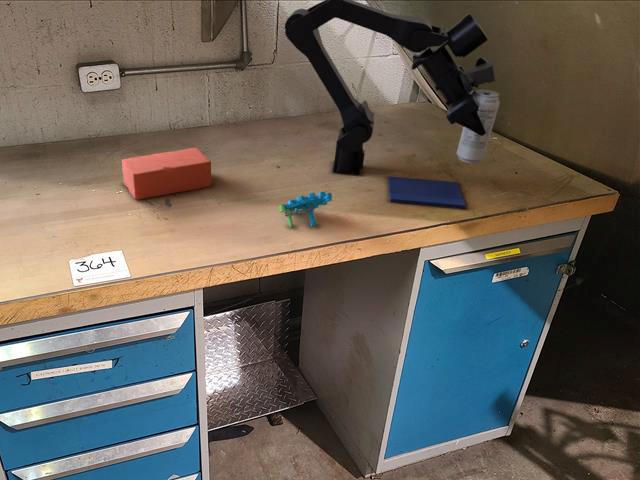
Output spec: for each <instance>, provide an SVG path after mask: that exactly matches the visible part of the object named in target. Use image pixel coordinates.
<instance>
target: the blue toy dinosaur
mask: <svg viewBox="0 0 640 480" xmlns="http://www.w3.org/2000/svg"><path fill="white" fill-rule="evenodd" d="M332 201H333V195H332V192H327V193H326V191H319V192H318V194H317V195H316V192H311V193H308V194H307V196H304V195H298V196H297V197H296V199H290V200H288V201H287V202H288V203H282V204H281V203H280V204H279V210H280V213H283V214H284V217H287V221H288V225H289V227H290V228H291V227H294V223H293V219H292V216H297V215H302V214H308V218H309V222H310V226H311V227H314V226H317V223H316V219H315V218H316V217H315V214H314V211H315V210H316V209H319V208H320V206H326V205H328V202H332Z"/></svg>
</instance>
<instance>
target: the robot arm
mask: <svg viewBox="0 0 640 480" xmlns="http://www.w3.org/2000/svg"><path fill="white" fill-rule="evenodd" d="M334 19H339V20H342V21H345V22H347V23H350V24H354V25H356V26H359V27H362V28H364V29H367V30H371V31H372V32H375V33H379V34H382V35H385V36H387V37H388V38H390V39H391V40H393V41H394V42H395V43H397V44H398V45H400V46H401V47H403V48H405V49H406V50H408V51H409V52H411V53H414V54H413V55H412V64H411V70H412V71H414V70H416V69H417V68H419V67H420V66H421V67H422V68H423V69H424V71H425V72H426V74H427V76H429V79H430V80H431V81H432V82H433V84H434V89H435V91H436V92H438V91H439V93H440V94H441V96H442V97H443V98H444V100H445V105H446V106H447V112H446V116H445V117H446V119H447V120H448V123H449V124H450V125H454V124H457V125H460V126H462V127H463V126H464V127H466V128H468V129H469V130H471V131H473V132H475V133H477V134H479V135H481V136H483V135H484V134H486V131H485V129H484V126H483V124H482V122H481V119H480V117H479V115H478V113H477V112H478V108H479V102H478V101H477V99H476V97H475V96H474V94H475V92H476V90H479V89H481V88H480V85H483V84H487V83H488V84H491V83H493V82H495V81H496V80H497V79H496V72H495V71H496V70H495V66H494V65H495V64H494V61H492V60H491V59H490V60H488V59H486V58H485V57H484V56H481V57H478V58H476V59H475V62H474V66H473V65H471V66H470V67H469V68H466V69H465V68H464V66H463V65H460V64H457V61H456V60H455V59H454V58H453V56H452V55H451V53H450V52H449V50H448V49H447V47H446V46H448V48H449V49H450V51H451V52H452V54H453V55H454V56H455V57H456V58H463V59H464V58H466V57H467V56H469V55H470V54H472V52H474V51H476V50H477V49H478V48H479V47H481V46H483V44H485V43H486V42H487V41H489V38H488V36H487V34H486V33H485V31H484V30H483V28H482V27H481V25H480V23H479V22H477V21H476V20H475V18H474V17H473V15H472V14H471V13H470V12H467V13H466V14H465V15H463V16H462V18H461V19H460V20H459V21H457V22H456V23H455V24H453V25H452V26H451V27H449V28H448V29H447V28H445V27H441V26H437V25H432V23H431V22H430V21H429V20H428V19H426V18H424V17H419V16H418V17H417V16H412V15H398V14H393V13H391V12H390V13H389V12H387V11H384V10H381V9H379V8H376V7H373V6H370V5H367V4H364V3H362V2H359V1H356V0H323V1H321V2H318V3H316V4H315V5H312V6H311V7H309V8H307V9H306V8H298V9H296V10H294V11H293V12H292V13H291V14H290V16H289V17H288V18H287V19H286V21H285V23H284V28H283V31H284V35H285V37H286V38H287V40H288V41H289V42H290V43H291V44H292V45H293V46H294V48H295V49H296V50H298V51H299V52H300V53H301V54H302V55H303V56H305V57H306V58H307V60H308V62H309V63H310V65H311V66H312V69H314V71H315V73H316V75H317V76H318V78H319V79H320V81H321V83H322V84H323V86H324V88H325V90H326V91H327V92H328V94H329V97H330V98H331V99H332V101H333V102H334V104H335V106H336V107H337V109H338V111H339V114H340V117H341V122H342V125H343V126H342V127H341V128H340V129H339V131H338V136H337V139H336V145H335V151H334V152H335V153H334V160H333V163H332V164H333V165H332V173H336V174H347V175H358V176H359V175H361V171H362V170H363V169H364V161H365V154H366V153H365V152H366V151H365V149H364V144H365V143H367V142H368V141H370V139H371V138H372V136H373V133H374V132H373V131H374V125H375V118H374V117H375V112H373V111H372V110H371V109H370V107H369V104H368V102H367V100H363V101H362V102H361V103H360V102H359V101H358V99H356V98H355V97H354V95H353V93H352V92H351V90H350V88H349V86H348V85H347V83H346V82H345V80H344V78H343V77H342V74H341V73H340V72H339V70H338V68H337V66H336V65H335V63H334V62H333V59H332V58H331V56H330V54H329V53H328V51H327V50H326V48H325V46H324V44H323V40H322V37H321V33H320V30H319V28H320V27H322V26H324V25H325V24H326V23H328V22H330V21H331V20H334ZM415 53H416V54H415ZM418 53H420V54H418ZM474 88H476V89H475V90H474Z"/></svg>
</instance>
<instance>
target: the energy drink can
mask: <svg viewBox="0 0 640 480" xmlns="http://www.w3.org/2000/svg"><path fill="white" fill-rule="evenodd" d="M475 90H476V92H475V94H474V96H475V97H476V99H477V101H478V102H479V108H478V112H477V113H478V115H479V117H480V119H481V122H482V124H483V126H484V129H485V131H486V134H484V135H483V136H481V135H479V134H477V133H475V132H473V131H471V130H469V129H468V128H466V127H464V126H462V131H461V134H460V139H459V142H458V147H457V150H456V155H457V159H458V160H459V161H461V162H462V163H468V164H479V163H480V162H481V161H482V160H484V159H485V156H486V152H487V149H488V145H489V142H490V138H491V135H492V131H493V127H494V124H495V121H496V117H497V115H498V111H499V107H500V104H501V101H500V97H499V96H500V93H499V92H497V91H495V90H491V89H485V88H483V89H482V88H480V89H479V90H477V89H475Z"/></svg>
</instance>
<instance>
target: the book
mask: <svg viewBox="0 0 640 480" xmlns="http://www.w3.org/2000/svg"><path fill="white" fill-rule="evenodd" d="M388 189H389V201H390V202H389V203H396V204H407V205H417V206H419V205H420V206H427V207H429V206H430V207H438V208H439V207H440V208H450V209H462V210H466V207H467V204H466V201H465V199H464V197H463V194H462V190H461V187H460V184H459V182H457V181H446V180H436V179H424V178H414V177H403V176H401V177H400V176H391V175H390V176H388Z"/></svg>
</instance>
